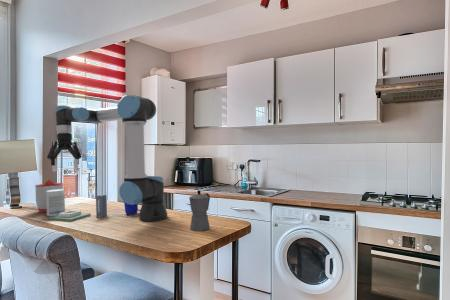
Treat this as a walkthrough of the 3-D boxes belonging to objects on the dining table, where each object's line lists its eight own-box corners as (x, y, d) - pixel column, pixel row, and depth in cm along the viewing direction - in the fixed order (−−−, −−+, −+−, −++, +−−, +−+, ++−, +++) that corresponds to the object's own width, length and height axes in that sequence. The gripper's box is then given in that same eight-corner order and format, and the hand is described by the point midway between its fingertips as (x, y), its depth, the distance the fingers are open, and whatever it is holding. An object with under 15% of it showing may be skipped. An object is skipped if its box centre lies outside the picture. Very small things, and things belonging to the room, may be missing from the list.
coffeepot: (200, 233, 133) (199, 192, 133) (183, 231, 137) (182, 191, 137) (218, 225, 146) (217, 188, 146) (201, 223, 151) (200, 187, 151)
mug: (140, 215, 173) (140, 197, 173) (121, 214, 176) (120, 197, 176) (147, 212, 181) (146, 195, 181) (128, 211, 184) (128, 195, 184)
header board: (90, 215, 175) (90, 210, 175) (71, 221, 162) (71, 215, 162) (69, 214, 180) (69, 209, 180) (48, 219, 167) (48, 214, 167)
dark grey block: (107, 215, 175) (106, 194, 175) (101, 217, 171) (101, 195, 171) (101, 215, 176) (100, 194, 176) (96, 216, 172) (95, 195, 172)
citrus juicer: (62, 207, 205) (61, 177, 204) (65, 211, 190) (64, 179, 190) (35, 210, 196) (34, 179, 196) (36, 214, 181) (35, 181, 181)
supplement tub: (68, 213, 182) (68, 189, 182) (54, 217, 173) (53, 191, 173) (57, 212, 186) (56, 188, 186) (42, 216, 177) (42, 191, 177)
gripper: (78, 135, 183) (79, 170, 182) (38, 132, 160) (40, 172, 159) (87, 133, 180) (88, 169, 179) (48, 131, 157) (49, 172, 156)
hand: (65, 171), depth 169 cm, fingers open, 13 cm apart
